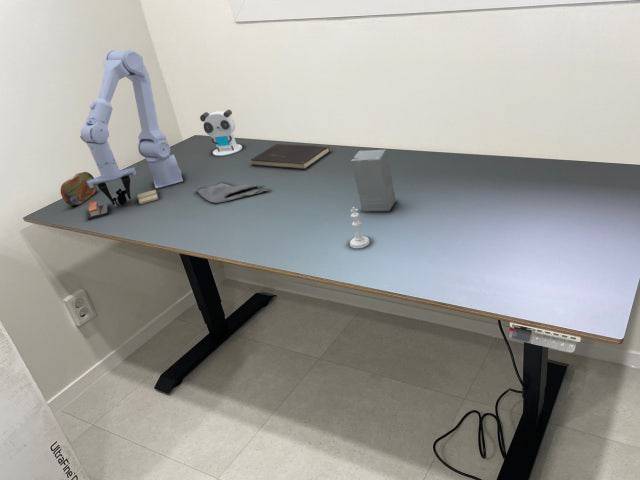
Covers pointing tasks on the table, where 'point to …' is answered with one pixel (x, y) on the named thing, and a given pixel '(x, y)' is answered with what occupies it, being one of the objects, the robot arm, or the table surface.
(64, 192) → the tin
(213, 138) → the panda figurine
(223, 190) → the cloth
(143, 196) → the napkin
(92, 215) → the sushi plate
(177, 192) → the table surface
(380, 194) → the cosmetic box
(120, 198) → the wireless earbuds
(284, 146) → the hardcover book
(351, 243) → the chess piece
